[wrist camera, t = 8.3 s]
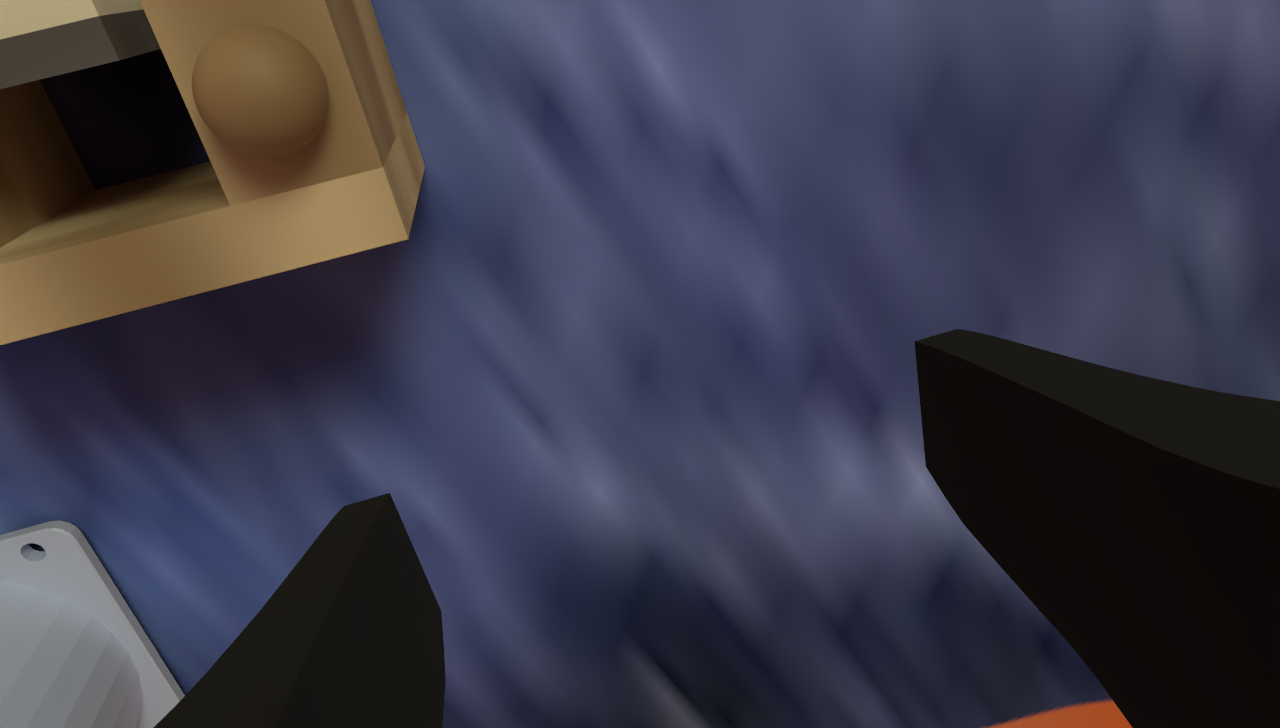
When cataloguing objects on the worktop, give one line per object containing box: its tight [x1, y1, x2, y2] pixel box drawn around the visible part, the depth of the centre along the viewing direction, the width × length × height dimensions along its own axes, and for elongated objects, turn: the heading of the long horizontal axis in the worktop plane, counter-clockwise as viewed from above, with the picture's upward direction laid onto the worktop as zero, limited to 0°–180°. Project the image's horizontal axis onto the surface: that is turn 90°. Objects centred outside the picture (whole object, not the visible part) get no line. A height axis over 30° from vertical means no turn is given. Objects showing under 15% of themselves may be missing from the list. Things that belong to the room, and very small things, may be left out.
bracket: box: [0, 0, 425, 345], centre depth 15 cm, size 9×4×7 cm, turn 102°
